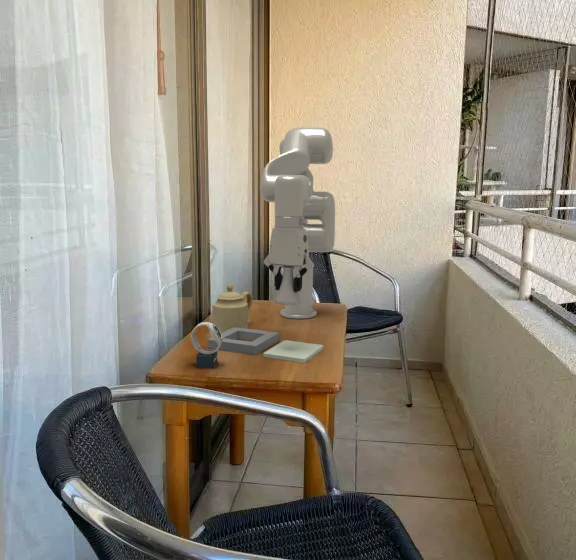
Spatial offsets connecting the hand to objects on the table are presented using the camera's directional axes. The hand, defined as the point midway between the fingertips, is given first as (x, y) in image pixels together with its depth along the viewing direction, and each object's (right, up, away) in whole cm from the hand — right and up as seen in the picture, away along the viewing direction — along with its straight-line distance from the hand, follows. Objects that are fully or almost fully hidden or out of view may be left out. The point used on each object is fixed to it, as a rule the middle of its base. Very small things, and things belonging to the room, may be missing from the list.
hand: (288, 289), depth 160 cm
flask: (0, -4, +1) cm, 4 cm away
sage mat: (+2, -17, +2) cm, 18 cm away
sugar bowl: (-18, -13, +27) cm, 35 cm away
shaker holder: (-13, -16, +9) cm, 22 cm away
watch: (-21, -19, -9) cm, 29 cm away
